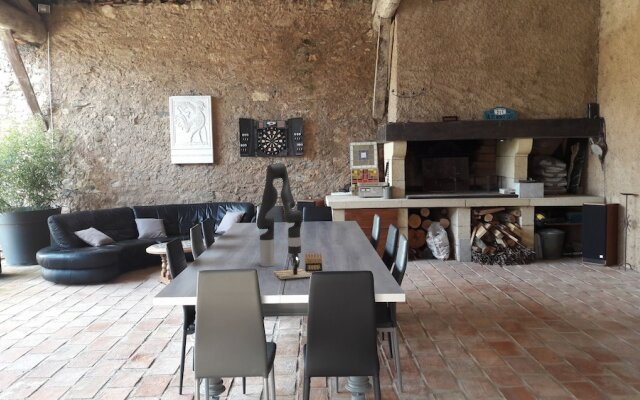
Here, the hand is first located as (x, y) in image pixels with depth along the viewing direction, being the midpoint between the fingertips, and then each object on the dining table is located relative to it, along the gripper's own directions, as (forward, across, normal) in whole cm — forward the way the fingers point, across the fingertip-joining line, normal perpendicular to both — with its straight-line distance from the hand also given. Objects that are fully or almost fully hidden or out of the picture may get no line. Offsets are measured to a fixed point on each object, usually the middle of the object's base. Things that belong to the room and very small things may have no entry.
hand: (295, 274), depth 293 cm
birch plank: (+2, -2, 0) cm, 3 cm away
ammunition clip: (+2, -15, +16) cm, 22 cm away
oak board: (+2, -12, 0) cm, 12 cm away
